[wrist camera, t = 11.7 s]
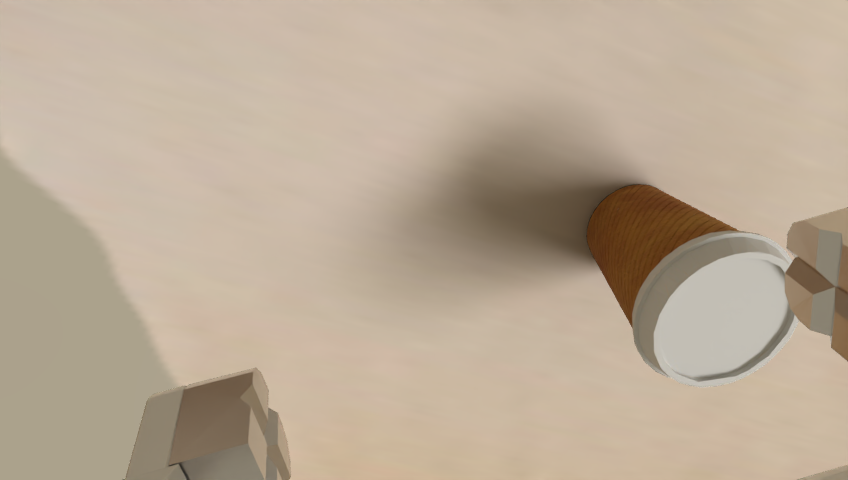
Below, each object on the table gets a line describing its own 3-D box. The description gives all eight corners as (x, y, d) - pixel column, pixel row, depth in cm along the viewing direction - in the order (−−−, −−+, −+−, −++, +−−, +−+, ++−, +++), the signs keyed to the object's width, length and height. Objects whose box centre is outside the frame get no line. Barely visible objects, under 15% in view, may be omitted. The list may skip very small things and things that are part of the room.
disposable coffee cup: (538, 259, 47) (610, 366, 36) (615, 138, 44) (719, 216, 33) (643, 303, 50) (737, 412, 40) (721, 193, 47) (846, 280, 37)
